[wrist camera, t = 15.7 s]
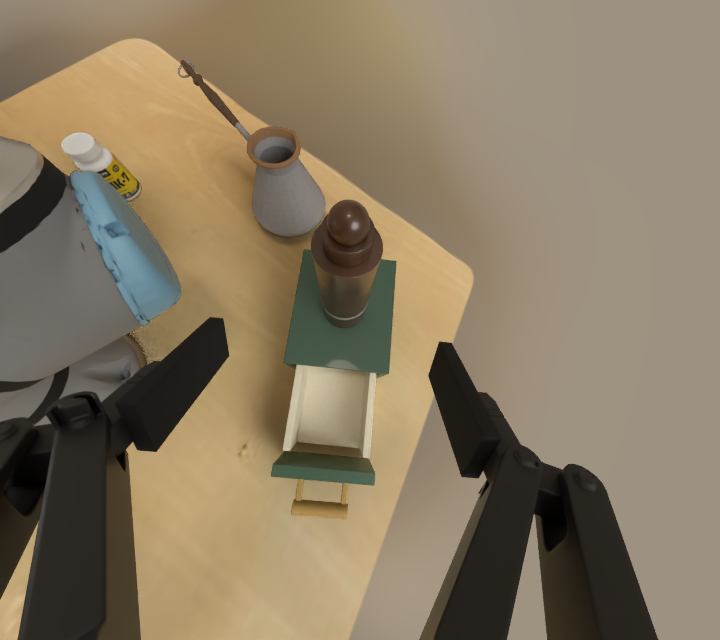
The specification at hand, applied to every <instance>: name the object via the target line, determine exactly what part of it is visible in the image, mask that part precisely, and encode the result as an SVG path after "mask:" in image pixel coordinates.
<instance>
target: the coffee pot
mask: <svg viewBox="0 0 720 640" xmlns="http://www.w3.org/2000/svg"><path fill="white" fill-rule="evenodd" d="M188 63H190V64H192V62H189V61H187V62H185V61H184V60H182V61H181V65H180V66H179V68H178V74H179V75H180V69H181V67H182V66H183V68H184V70H185V71H186V72H187V74H188V75H186V76H181V75H180V77H182V78H186V77H189V76H191V77H192V78H193V82H194V84H195V85H197V86H199V87H200V88H201V89H202V91H203V92H204V94H205V95H206V96H207V98H208V99H209V101H210V102H211V103H212V104H213V105H214V106H215V107H216V108H217V109H218V110H219V111H220V112H221V113H222V114H223V115H224V116H225V118H226V119H227V120H228V121H229V122H230V123H231V124H232V125H233V126H234V127H235V128H237V130H238V131H239V132H240V133H241V134H242V135H243V137H244V138H245V139H246V140H247V141H248V143H247V153H248V155H249V157H250V158H251V159H252V160H253V162H254V163H256V164H257V168H256V176H255V183H254V191H253V198H252V208H253V213H254V215H255V218H256V220H257V221H258V222H259V223H260V224H261V225H262V227H264V228H265V229H267V230H268V231H270V232H271V233H273V234H276V235H279V236H283V237H296V236H301V235H304V234H306V233H308V232H310V231H311V230H313V229H314V228H315V227H316V226H317V225H318V224H319V222H320V221H321V219H322V217H323V215H324V212H325V205H326V203H325V198H324V195H323V193H322V191H321V189H320V187H319V186H318V185H317V183H316V182H315V180H314V179H313V178H312V176H311V175H310V174H309V172H308V171H307V169H306V168H305V167H304V165H303V164H302V163H301V161H300V160H299V158H298V156H299V154H300V149H301V147H300V142H299V140H298V137H297V135H296V133H295V132H294V131H292V130H290V129H286V128H282V127H275V126H274V127H266V128H262V129H260V130H258V131H256V132H255V133H254V134H252V135H250V134H249V133H248V132H247V131H246V130H245V129H244V127H243V126H242V125H241V124H240V122H239V121H238V120H237V119H236V117H235V116H234V115H233V114H232V112H231V111H230V110H229V109H228V107H227V106H226V105H225V104H224V102H223V101H222V100H221V98H220V97H219V96H218V95H217V93H215V92H214V91H213V90H212V89H211V88H210V87H209V86H208V85H207V84H205V83H204V82H203V79H202V76H201V75H199V74H196V73H195V72H194V65H193V64H192V67H191V66H190V65H188Z"/></svg>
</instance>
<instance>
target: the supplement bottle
mask: <svg viewBox="0 0 720 640" xmlns="http://www.w3.org/2000/svg"><path fill="white" fill-rule="evenodd" d="M61 148H62V150H63V151H64V152H65V153H66V154H67V155H68V156H69V157H70V158H71V159H73V160H74V163H75V165H76V166H77V167H78V168H79V169H80V170H81V171H82V172H83V171H93V172H96V173H98V174H99V175H101V176H102V177H103V178H104V179H105V180H106V181H107V182H108V183H110V184H111V185H112V186H113V187H114V188H115V189H116V190H117V191H118V192H119V193H120V194H121V195H122V196H123V197H124V199H125V200H126V201H129V200H132V199H134V198H135V197H137V196H138V194H139V193H140V191H141V185H140V183H139V182H138V181H137V179H136V178H135V177H134V176H133V175H132V174H131V173H130V172H129V171H128V170H127V169H126V168H125V167H124V166H123V164H122V163H121V162H120V161H119V160H118V159H117V158H116V157H115V156H114V155H113V154H112V153H111V152H110V151H109V150H108V149H107V148H105V147H103V146H101V145H100V144H99V143H98V142H97V141H96V140H95V139H94V138H93V137H92V136H91V135H89V134H87V133H83V132H78V133H73V134H70V135H68V136H67V137H66V138H64V140H63V141H62V144H61Z"/></svg>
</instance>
